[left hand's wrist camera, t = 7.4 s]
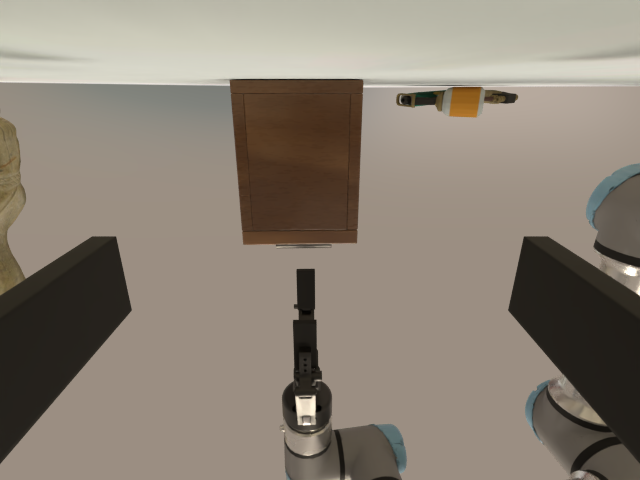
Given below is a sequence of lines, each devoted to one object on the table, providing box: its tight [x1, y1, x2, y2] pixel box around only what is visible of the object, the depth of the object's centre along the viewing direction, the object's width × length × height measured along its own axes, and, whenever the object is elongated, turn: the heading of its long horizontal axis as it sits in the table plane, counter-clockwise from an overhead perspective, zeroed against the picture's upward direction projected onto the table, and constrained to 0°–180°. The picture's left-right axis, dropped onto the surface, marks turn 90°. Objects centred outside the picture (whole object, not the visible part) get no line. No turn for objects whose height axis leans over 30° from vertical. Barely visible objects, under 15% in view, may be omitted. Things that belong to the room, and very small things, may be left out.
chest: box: [230, 80, 363, 231], centre depth 36 cm, size 18×9×11 cm, turn 178°
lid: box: [242, 229, 357, 248], centre depth 40 cm, size 19×9×8 cm, turn 178°
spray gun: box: [396, 87, 518, 117], centre depth 61 cm, size 4×17×15 cm
